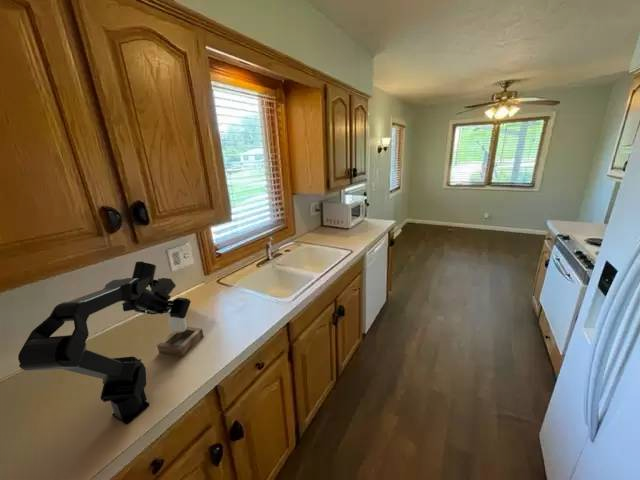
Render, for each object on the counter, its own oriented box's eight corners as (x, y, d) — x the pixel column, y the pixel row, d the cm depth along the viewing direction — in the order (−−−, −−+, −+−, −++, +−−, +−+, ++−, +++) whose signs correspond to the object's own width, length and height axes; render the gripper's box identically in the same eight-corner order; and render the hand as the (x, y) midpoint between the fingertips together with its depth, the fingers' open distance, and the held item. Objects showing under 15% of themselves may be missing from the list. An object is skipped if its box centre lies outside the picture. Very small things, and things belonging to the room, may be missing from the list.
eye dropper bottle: (176, 335, 95) (169, 305, 92) (169, 330, 99) (162, 300, 95) (188, 329, 99) (182, 300, 95) (181, 324, 102) (175, 295, 98)
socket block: (182, 357, 94) (180, 349, 93) (159, 353, 97) (157, 345, 95) (203, 336, 105) (202, 328, 104) (182, 333, 107) (180, 325, 106)
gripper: (181, 277, 86) (208, 292, 99) (133, 272, 90) (165, 287, 104) (167, 312, 81) (197, 323, 94) (117, 306, 85) (153, 317, 99)
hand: (178, 311), depth 98 cm, fingers closed on eye dropper bottle, 5 cm apart
